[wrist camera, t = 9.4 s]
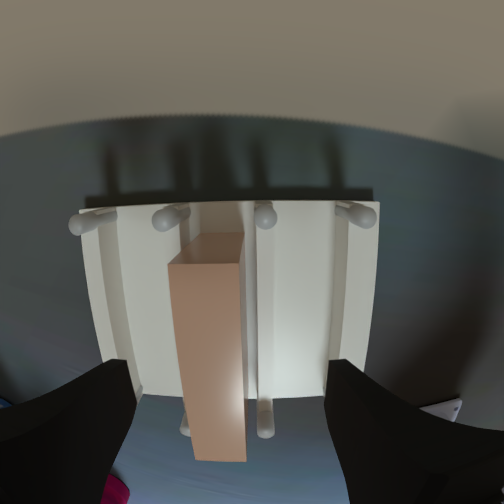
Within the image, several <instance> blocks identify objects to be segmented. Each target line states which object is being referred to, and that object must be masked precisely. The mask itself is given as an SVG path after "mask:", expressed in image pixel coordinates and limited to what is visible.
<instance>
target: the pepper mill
mask: <svg viewBox="0 0 504 504" xmlns="http://www.w3.org/2000/svg"><path fill="white" fill-rule="evenodd" d="M129 496H130V493H129V490H128V488H127V487H126V486H125V484H123V483H122V482H121V481H120V480H119V479H117V478H116V477H114V476H113V475H111V474H109V475H108V478H107V481H106V485H105V488H104V492H103V495H102V499H101V503H100V504H127V501H128V499H129Z"/></svg>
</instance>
